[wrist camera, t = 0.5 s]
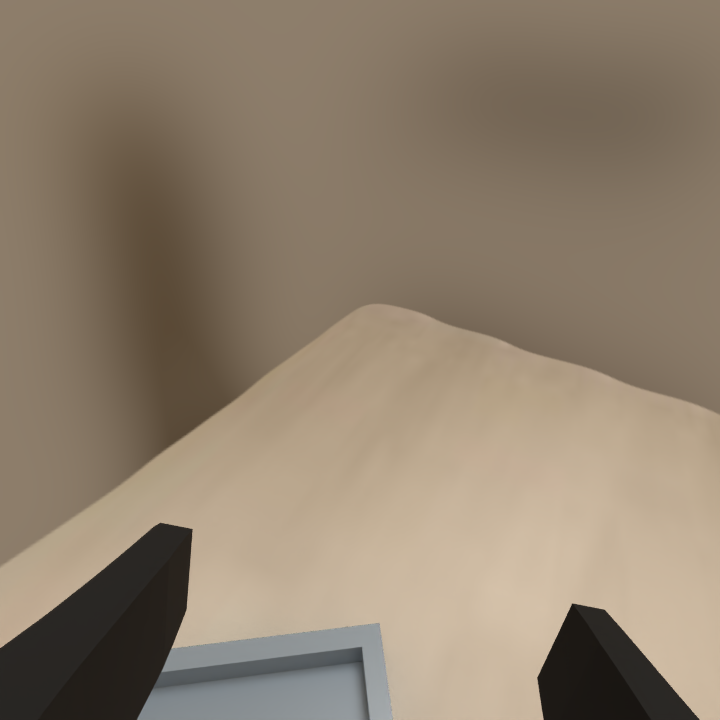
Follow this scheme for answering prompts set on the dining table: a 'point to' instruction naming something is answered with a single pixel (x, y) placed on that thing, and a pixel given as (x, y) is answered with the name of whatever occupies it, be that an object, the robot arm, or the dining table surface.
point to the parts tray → (276, 679)
